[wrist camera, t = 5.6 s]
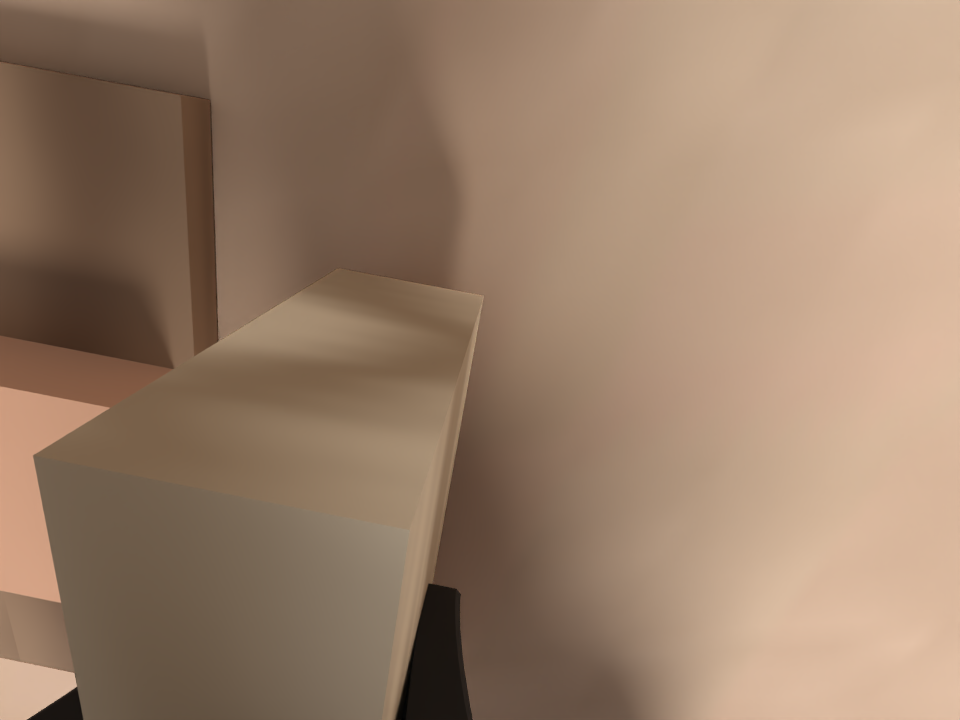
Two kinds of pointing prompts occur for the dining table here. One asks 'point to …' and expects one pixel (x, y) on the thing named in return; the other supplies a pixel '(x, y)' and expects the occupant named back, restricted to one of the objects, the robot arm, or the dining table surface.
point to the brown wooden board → (100, 247)
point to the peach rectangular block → (46, 441)
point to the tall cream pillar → (266, 511)
